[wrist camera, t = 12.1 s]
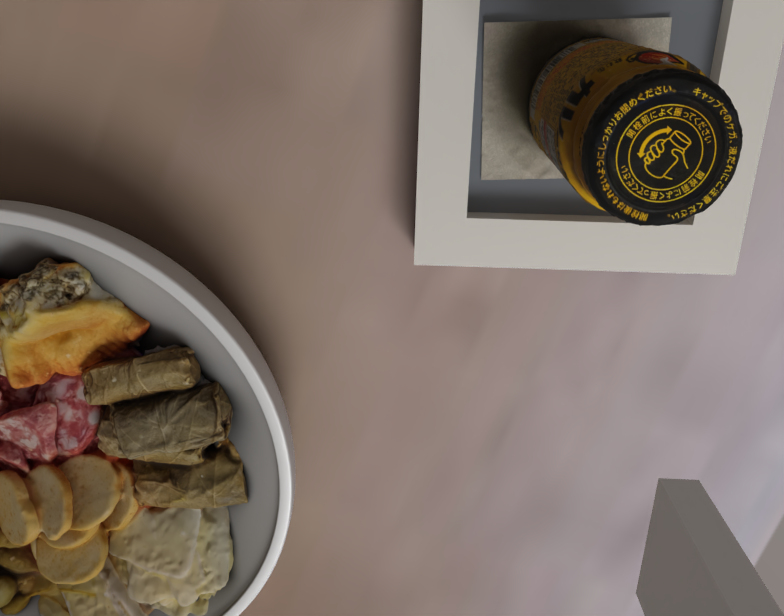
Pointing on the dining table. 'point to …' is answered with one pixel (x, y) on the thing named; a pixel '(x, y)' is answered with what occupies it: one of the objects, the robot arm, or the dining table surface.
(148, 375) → the bowl
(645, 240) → the pocket plate
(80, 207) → the dining table surface
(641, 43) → the condiment
